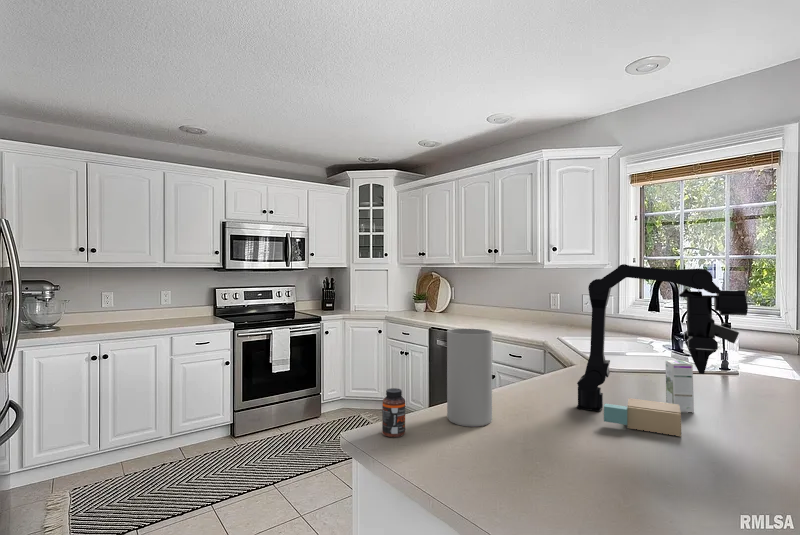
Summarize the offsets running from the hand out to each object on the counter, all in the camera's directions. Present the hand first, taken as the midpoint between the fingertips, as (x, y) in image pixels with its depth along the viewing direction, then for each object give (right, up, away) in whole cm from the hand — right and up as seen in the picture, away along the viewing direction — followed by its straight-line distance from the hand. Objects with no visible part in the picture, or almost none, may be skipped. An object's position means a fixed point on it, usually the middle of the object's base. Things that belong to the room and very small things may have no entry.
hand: (699, 370), depth 119 cm
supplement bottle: (-84, -15, -8) cm, 86 cm away
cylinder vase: (-63, -15, +3) cm, 65 cm away
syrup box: (+2, -15, +12) cm, 20 cm away
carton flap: (-20, -14, -7) cm, 25 cm away
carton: (-15, -15, -3) cm, 21 cm away
